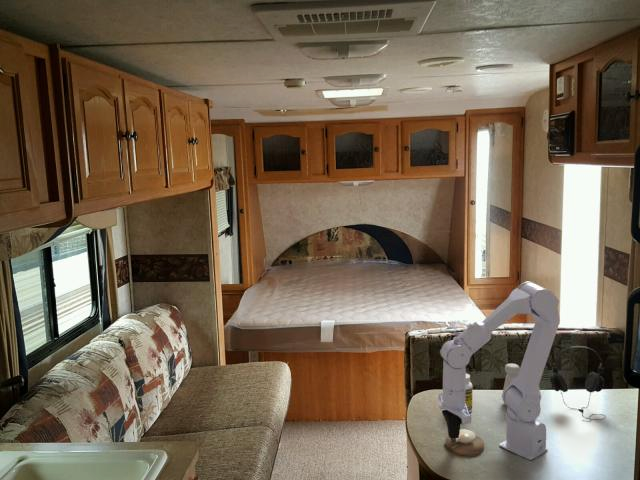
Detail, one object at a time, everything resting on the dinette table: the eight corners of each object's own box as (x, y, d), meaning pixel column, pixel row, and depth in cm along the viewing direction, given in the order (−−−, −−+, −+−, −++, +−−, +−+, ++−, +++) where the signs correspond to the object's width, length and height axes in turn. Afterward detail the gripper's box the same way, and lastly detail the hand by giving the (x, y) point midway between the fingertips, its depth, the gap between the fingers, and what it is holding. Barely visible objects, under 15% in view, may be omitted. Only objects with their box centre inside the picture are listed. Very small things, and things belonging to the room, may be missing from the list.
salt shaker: (500, 400, 172) (500, 361, 170) (519, 400, 171) (519, 361, 170) (504, 408, 167) (504, 368, 165) (523, 409, 166) (524, 368, 164)
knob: (464, 429, 150) (464, 415, 149) (479, 438, 145) (480, 423, 144) (443, 438, 146) (443, 423, 145) (459, 447, 141) (459, 431, 140)
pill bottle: (467, 416, 163) (467, 381, 161) (448, 411, 167) (448, 376, 165) (475, 408, 168) (475, 374, 166) (456, 403, 171) (456, 369, 170)
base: (491, 446, 145) (491, 439, 145) (467, 460, 139) (468, 452, 139) (461, 432, 153) (461, 425, 153) (437, 444, 147) (437, 437, 147)
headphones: (558, 421, 158) (560, 355, 155) (546, 403, 169) (548, 342, 166) (613, 422, 156) (616, 355, 153) (597, 404, 167) (600, 342, 164)
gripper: (428, 378, 147) (427, 426, 149) (452, 400, 133) (451, 453, 135) (452, 375, 148) (451, 423, 150) (478, 397, 134) (477, 449, 136)
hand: (453, 437), depth 142 cm, fingers closed, pressing on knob
